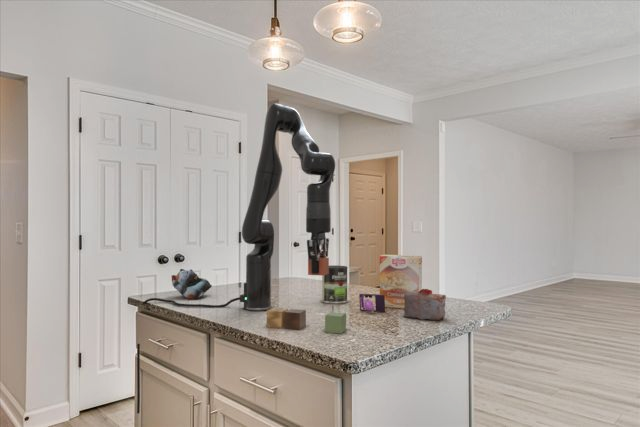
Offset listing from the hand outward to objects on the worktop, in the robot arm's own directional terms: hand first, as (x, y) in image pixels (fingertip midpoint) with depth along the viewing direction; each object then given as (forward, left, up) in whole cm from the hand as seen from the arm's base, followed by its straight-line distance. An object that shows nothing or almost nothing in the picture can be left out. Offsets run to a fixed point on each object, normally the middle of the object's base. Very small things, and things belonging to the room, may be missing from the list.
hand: (318, 272), depth 138 cm
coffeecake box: (+18, +42, -17) cm, 48 cm away
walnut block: (-7, -2, -17) cm, 18 cm away
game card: (+10, +28, -17) cm, 34 cm away
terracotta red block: (0, 0, -1) cm, 1 cm away
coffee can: (-9, +44, -17) cm, 48 cm away
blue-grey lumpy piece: (-69, +32, -17) cm, 77 cm away
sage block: (+6, -2, -17) cm, 18 cm away
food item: (+29, +25, -17) cm, 42 cm away
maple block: (-13, -2, -17) cm, 21 cm away
